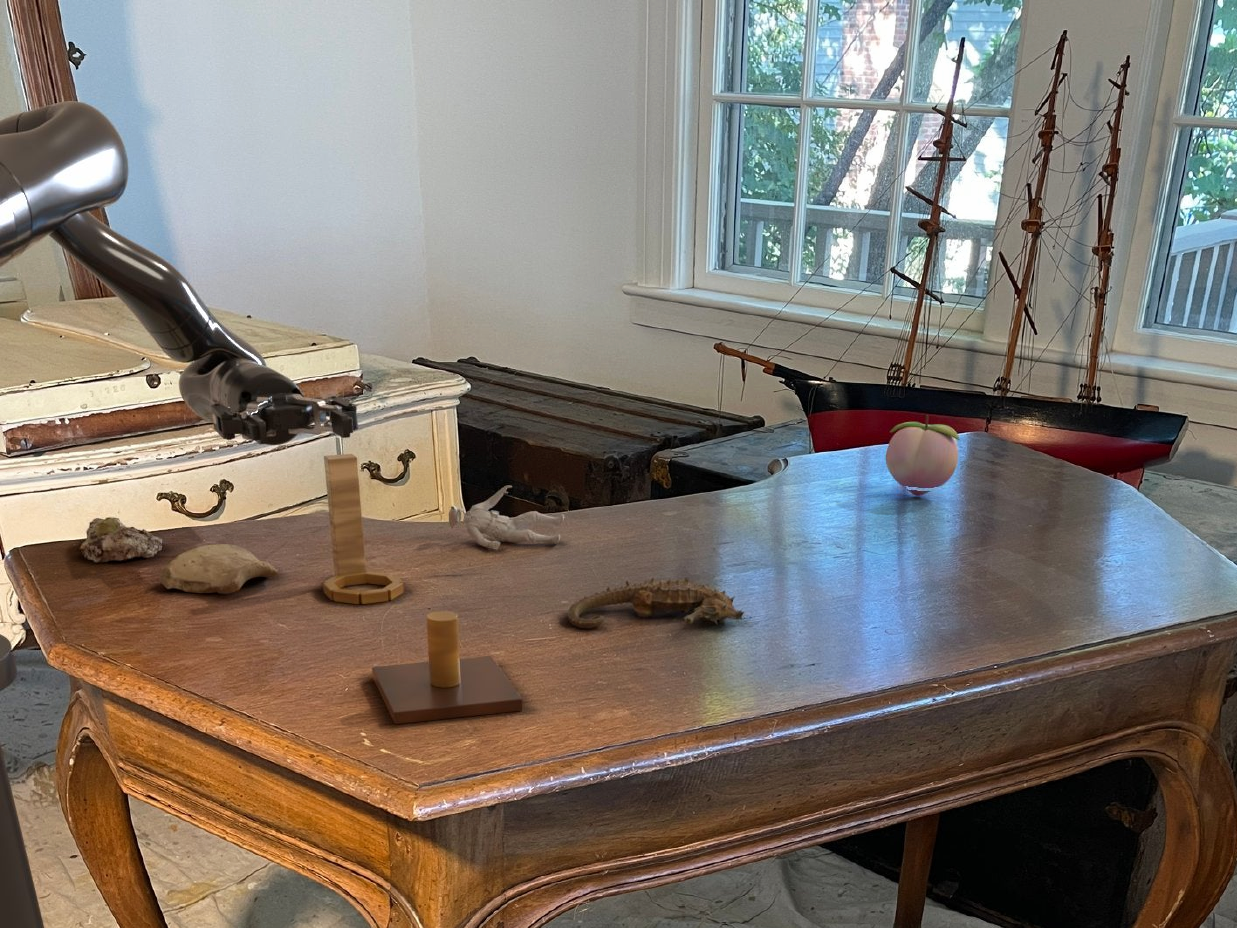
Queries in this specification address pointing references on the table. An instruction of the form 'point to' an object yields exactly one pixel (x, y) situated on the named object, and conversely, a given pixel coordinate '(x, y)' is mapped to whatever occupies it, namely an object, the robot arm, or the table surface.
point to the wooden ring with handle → (351, 538)
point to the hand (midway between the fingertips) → (305, 430)
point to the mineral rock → (117, 541)
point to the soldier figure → (502, 523)
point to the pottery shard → (214, 569)
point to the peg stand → (445, 680)
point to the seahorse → (659, 601)
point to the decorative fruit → (922, 455)
